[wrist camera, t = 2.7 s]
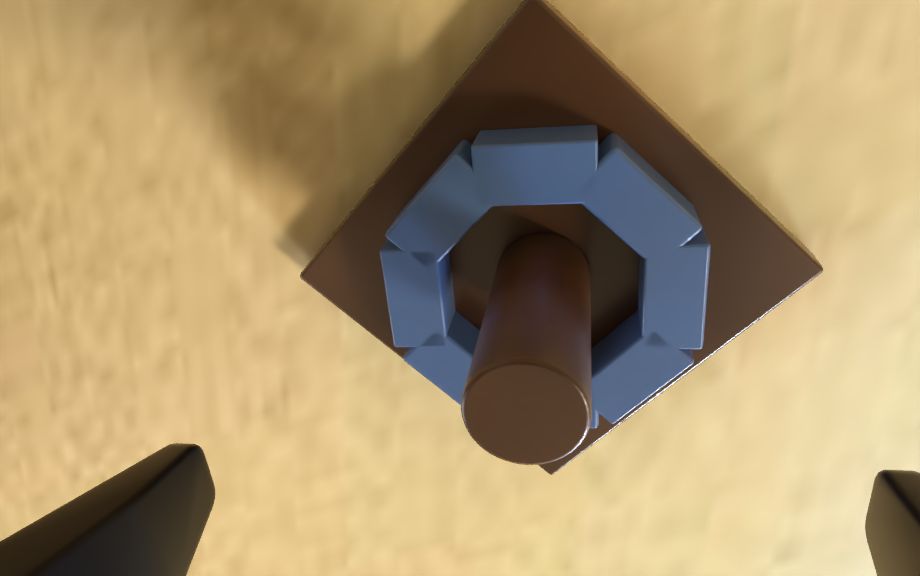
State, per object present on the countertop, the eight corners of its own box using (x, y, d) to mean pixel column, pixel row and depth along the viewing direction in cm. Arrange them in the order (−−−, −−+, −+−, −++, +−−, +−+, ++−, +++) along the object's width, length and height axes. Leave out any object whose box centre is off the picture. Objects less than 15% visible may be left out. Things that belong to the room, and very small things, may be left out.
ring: (343, 277, 16) (326, 301, 15) (534, 56, 13) (529, 66, 12) (549, 441, 17) (547, 475, 16) (766, 271, 14) (781, 299, 13)
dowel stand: (309, 263, 17) (186, 406, 12) (534, -12, 13) (501, 19, 8) (553, 456, 18) (539, 660, 13) (814, 255, 14) (937, 426, 9)
